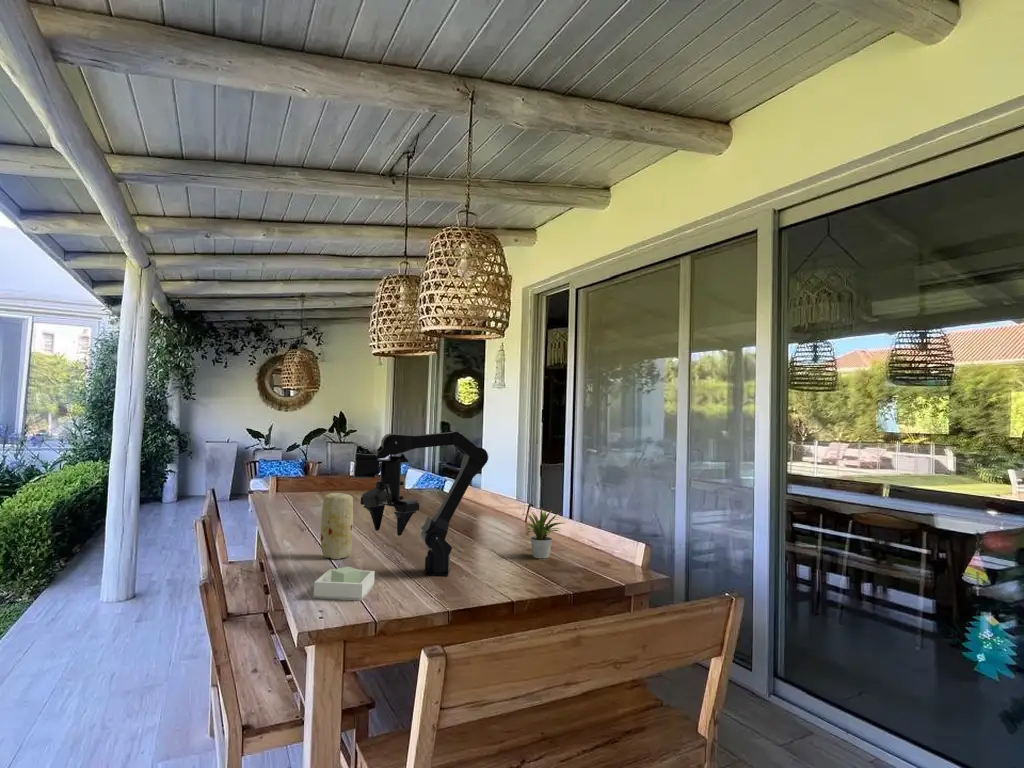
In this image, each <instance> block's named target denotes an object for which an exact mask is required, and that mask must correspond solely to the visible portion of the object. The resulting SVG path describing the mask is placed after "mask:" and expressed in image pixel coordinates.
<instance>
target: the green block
mask: <svg viewBox="0 0 1024 768" xmlns="http://www.w3.org/2000/svg"><path fill="white" fill-rule="evenodd" d="M333 569H334V570H332V575H331V582H346V583H359V581H360V570H361V569H358V568H355V567H351V566H349V565H347V566H343V567H339V568H333Z"/></svg>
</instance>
